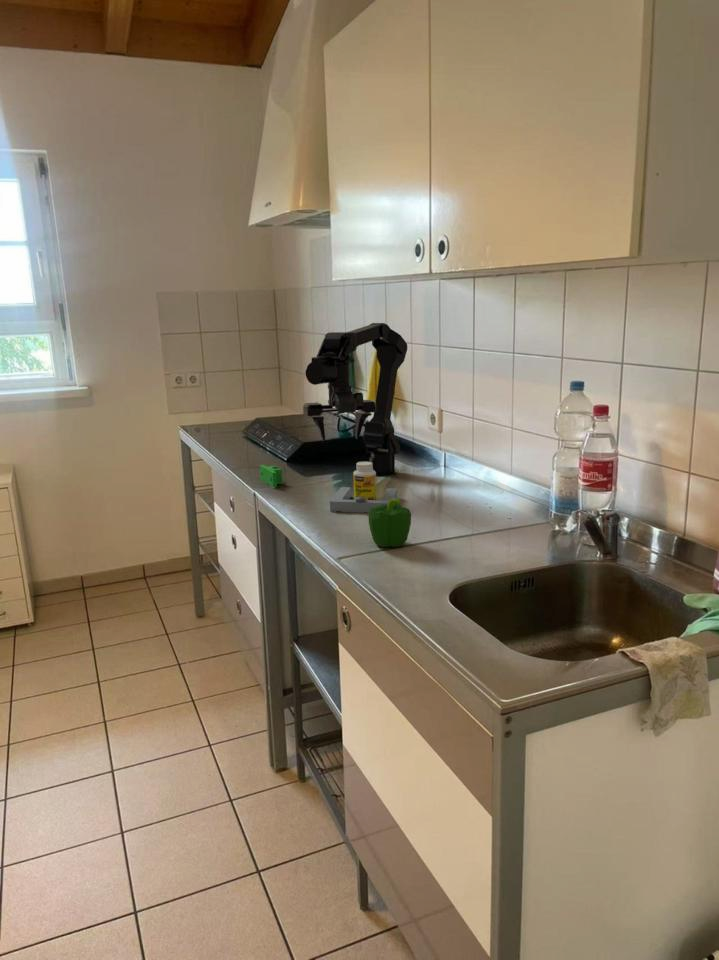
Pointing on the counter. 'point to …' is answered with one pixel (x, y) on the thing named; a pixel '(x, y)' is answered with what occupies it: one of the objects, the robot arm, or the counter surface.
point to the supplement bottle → (364, 481)
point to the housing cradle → (358, 501)
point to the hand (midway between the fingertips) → (340, 440)
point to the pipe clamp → (271, 475)
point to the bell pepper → (390, 524)
